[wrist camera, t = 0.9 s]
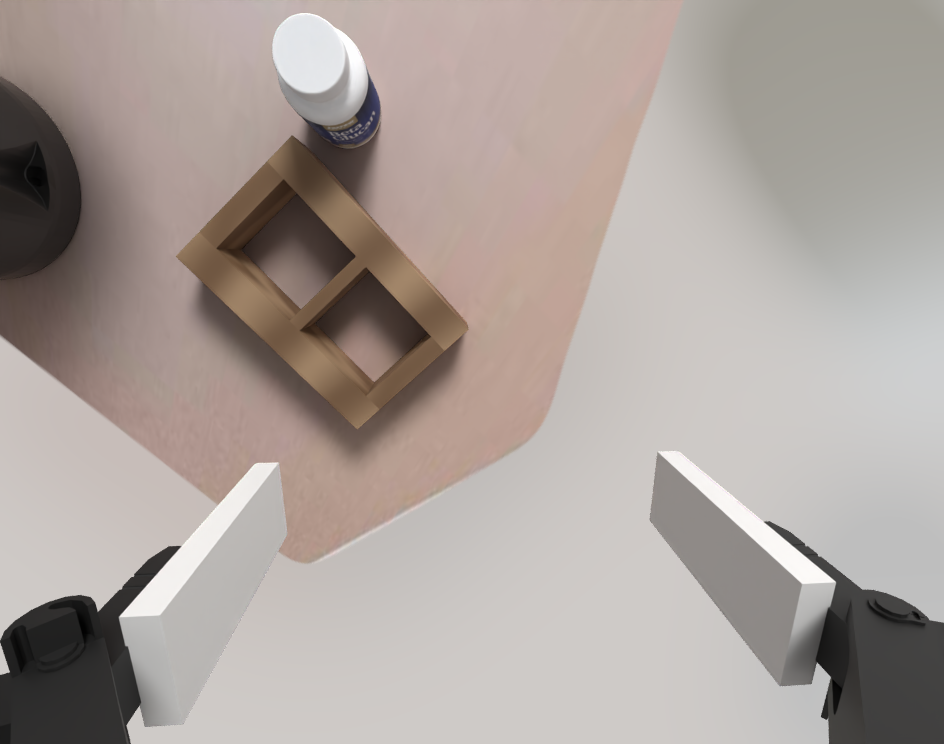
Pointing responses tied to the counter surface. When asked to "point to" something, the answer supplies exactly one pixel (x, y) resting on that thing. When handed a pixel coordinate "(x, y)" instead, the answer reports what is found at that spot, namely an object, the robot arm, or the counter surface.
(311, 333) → the socket board
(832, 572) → the robot arm
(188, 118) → the counter surface
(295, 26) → the pill bottle
